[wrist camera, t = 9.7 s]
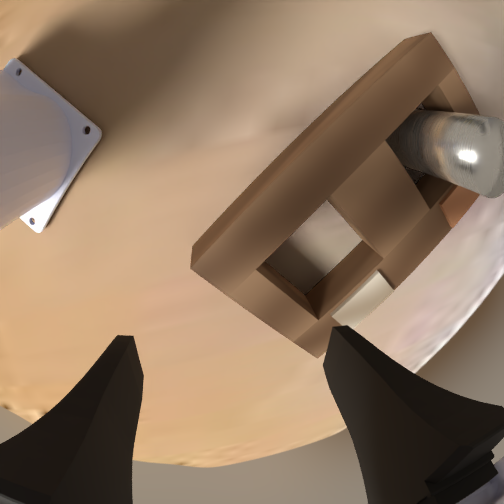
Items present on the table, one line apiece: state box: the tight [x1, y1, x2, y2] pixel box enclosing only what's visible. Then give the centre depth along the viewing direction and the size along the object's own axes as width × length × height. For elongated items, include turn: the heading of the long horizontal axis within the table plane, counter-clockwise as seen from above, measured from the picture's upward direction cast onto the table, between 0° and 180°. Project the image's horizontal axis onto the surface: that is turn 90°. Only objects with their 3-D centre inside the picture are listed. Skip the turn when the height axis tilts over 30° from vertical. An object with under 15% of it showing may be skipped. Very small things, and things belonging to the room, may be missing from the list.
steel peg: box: [385, 110, 504, 198], centre depth 14 cm, size 4×4×8 cm
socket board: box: [190, 33, 480, 358], centre depth 17 cm, size 11×20×3 cm, turn 136°
